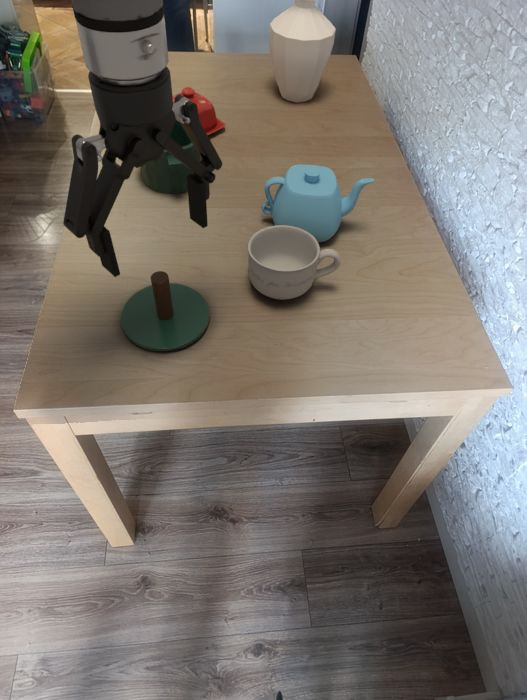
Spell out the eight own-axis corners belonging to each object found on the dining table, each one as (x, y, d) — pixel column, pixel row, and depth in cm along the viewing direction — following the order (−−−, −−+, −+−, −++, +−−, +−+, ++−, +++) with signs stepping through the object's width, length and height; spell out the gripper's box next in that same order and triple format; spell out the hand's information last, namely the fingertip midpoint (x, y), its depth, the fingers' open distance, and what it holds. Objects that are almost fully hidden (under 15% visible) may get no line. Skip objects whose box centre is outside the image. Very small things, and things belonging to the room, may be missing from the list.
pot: (147, 205, 90) (140, 163, 84) (137, 153, 100) (131, 111, 93) (210, 198, 92) (209, 156, 86) (195, 148, 102) (193, 107, 96)
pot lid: (126, 360, 69) (114, 319, 63) (118, 294, 77) (107, 251, 70) (217, 345, 72) (215, 304, 65) (201, 283, 79) (198, 240, 72)
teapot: (377, 199, 77) (261, 189, 77) (363, 252, 86) (258, 243, 86) (372, 154, 85) (266, 145, 85) (360, 206, 93) (263, 198, 93)
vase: (327, 110, 114) (347, -21, 95) (265, 106, 114) (272, -26, 94) (324, 81, 123) (342, -45, 103) (266, 77, 123) (273, -49, 103)
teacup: (238, 301, 77) (239, 262, 71) (255, 255, 84) (258, 216, 77) (327, 320, 76) (336, 282, 69) (338, 272, 82) (346, 233, 76)
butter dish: (229, 130, 107) (228, 89, 100) (188, 150, 102) (185, 109, 95) (193, 109, 112) (190, 69, 105) (152, 127, 106) (146, 86, 99)
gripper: (23, 129, 39) (87, 310, 56) (254, 45, 50) (249, 217, 67) (-21, 93, 42) (52, 275, 59) (205, 22, 53) (212, 192, 70)
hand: (157, 245), depth 63 cm, fingers open, 13 cm apart
